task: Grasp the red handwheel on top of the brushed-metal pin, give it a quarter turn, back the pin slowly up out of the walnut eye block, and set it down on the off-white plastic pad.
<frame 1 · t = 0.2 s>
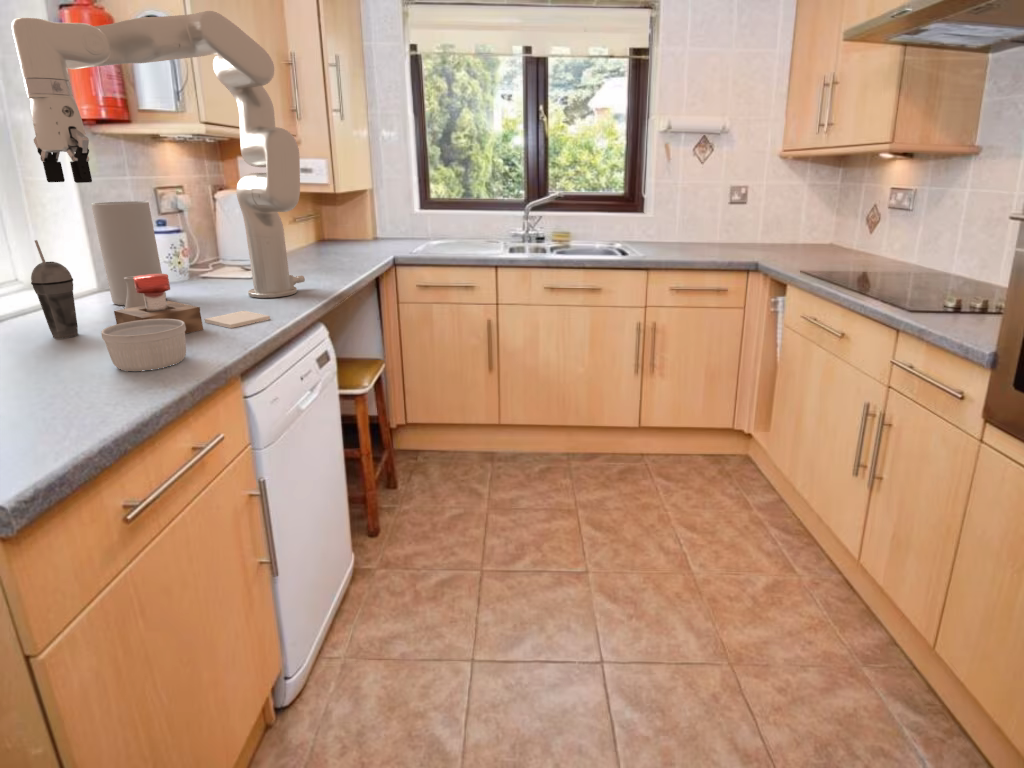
hand: (69, 182, 132), 31 cm above the countertop, tool pointing down, fingers open, 9 cm apart
flask: (140, 321, 149), on the countertop
pad: (237, 320, 148), on the countertop
cylinder vase: (140, 301, 170), on the countertop
beverage cup: (66, 336, 136), on the countertop
eye block: (161, 331, 139), on the countertop
ramekin: (151, 364, 117), on the countertop
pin: (156, 304, 137), in the eye block
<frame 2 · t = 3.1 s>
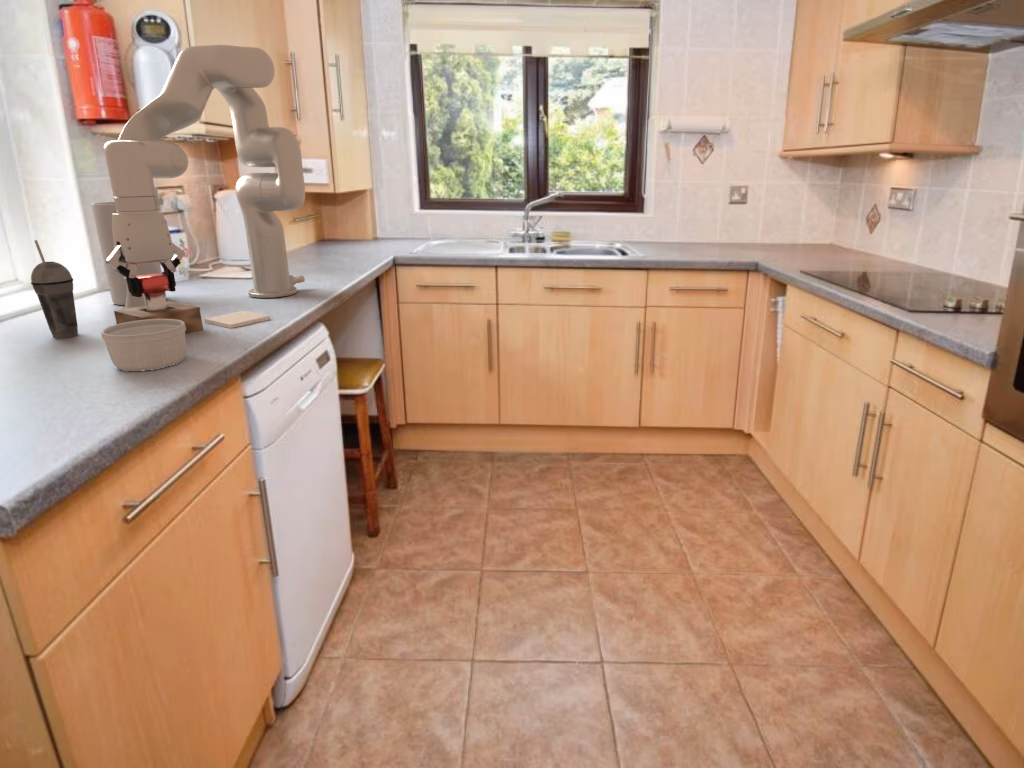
hand: (153, 292, 136), 8 cm above the countertop, tool pointing down, fingers closed on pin, 6 cm apart
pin: (156, 304, 137), in the eye block, touching gripper
everything else where it was.
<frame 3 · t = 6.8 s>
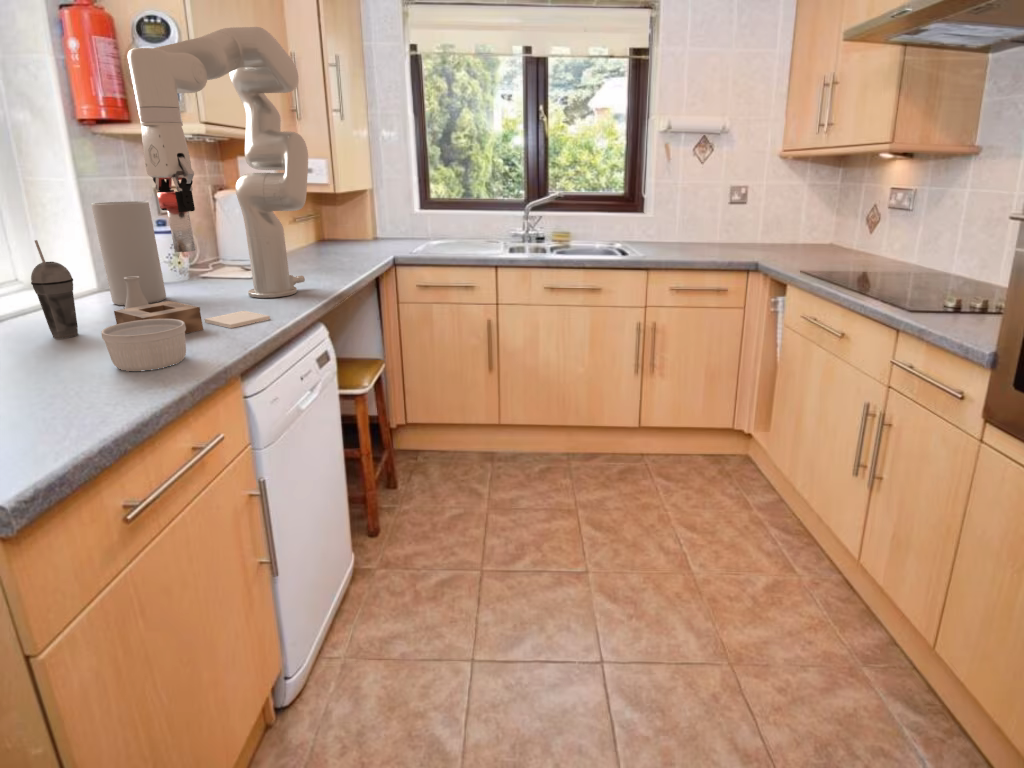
hand: (177, 209, 135), 25 cm above the countertop, tool pointing down, fingers closed on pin, 6 cm apart
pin: (179, 221, 136), point 23 cm above the countertop, touching gripper
everything else where it was.
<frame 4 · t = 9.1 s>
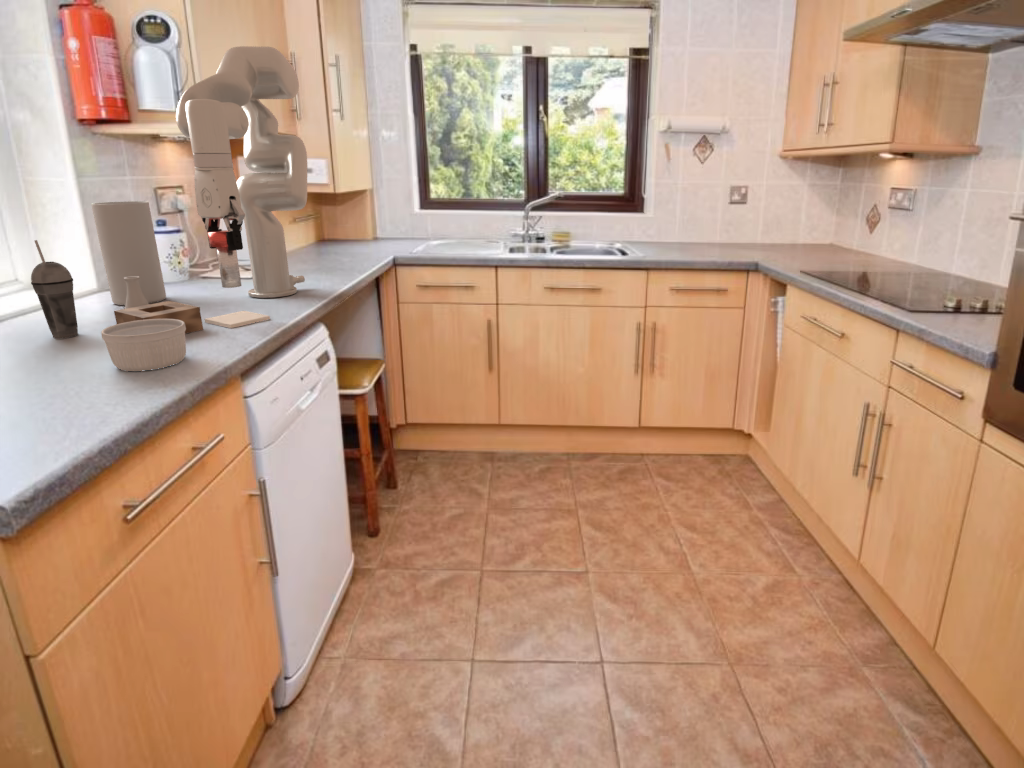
hand: (226, 248, 142), 16 cm above the countertop, tool pointing down, fingers closed on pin, 6 cm apart
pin: (227, 259, 143), point 14 cm above the countertop, touching gripper
everything else where it was.
when the fingers open (10 cm above the countertop, at t = 10.8 s): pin stays where it is, resting on pad.
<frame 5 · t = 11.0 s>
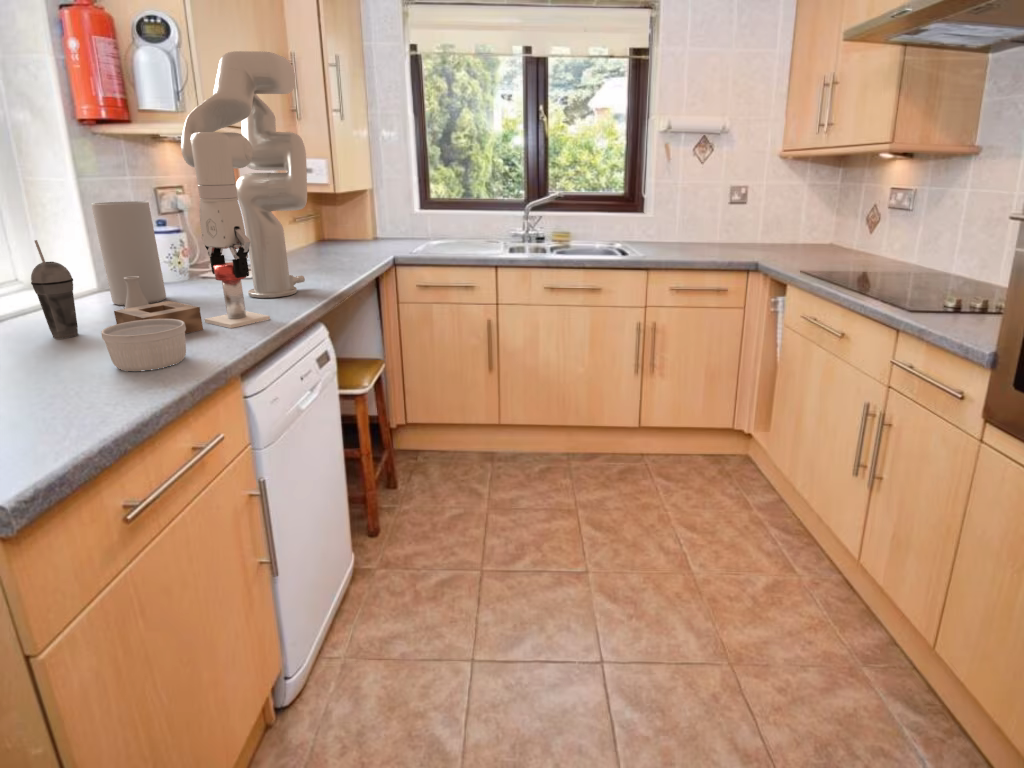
hand: (230, 274, 144), 11 cm above the countertop, tool pointing down, fingers open, 8 cm apart
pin: (233, 291, 145), on the pad, point 7 cm above the countertop
everything else where it was.
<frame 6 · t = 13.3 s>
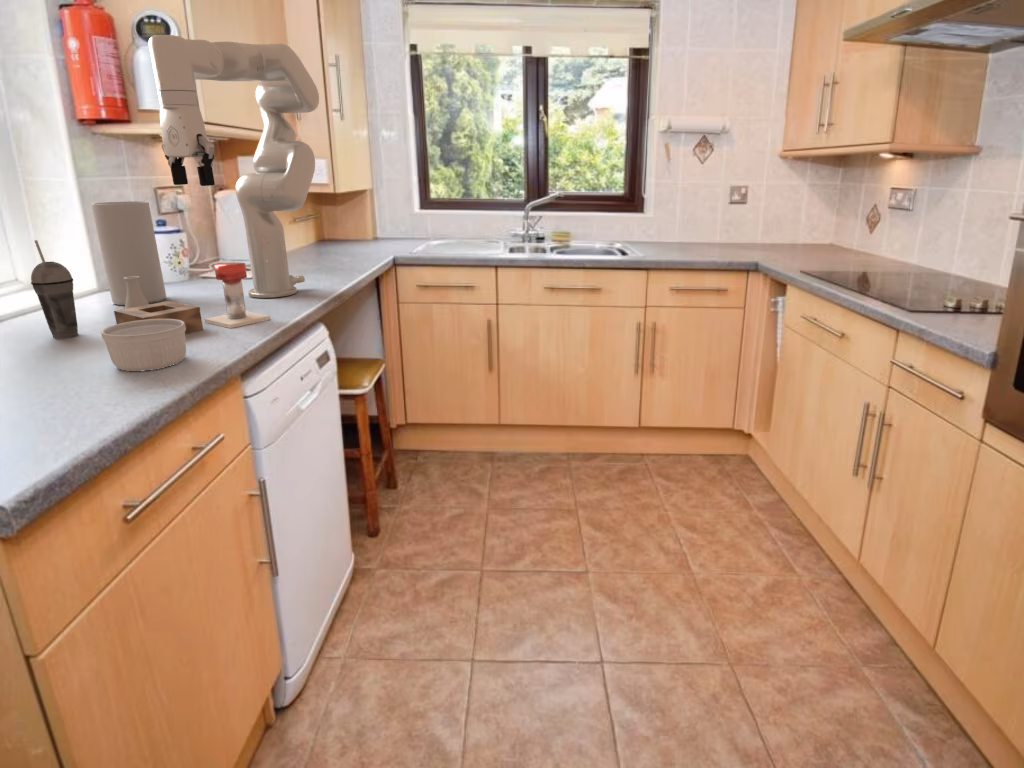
hand: (194, 185, 143), 30 cm above the countertop, tool pointing down, fingers open, 9 cm apart
nothing on the countertop moved.
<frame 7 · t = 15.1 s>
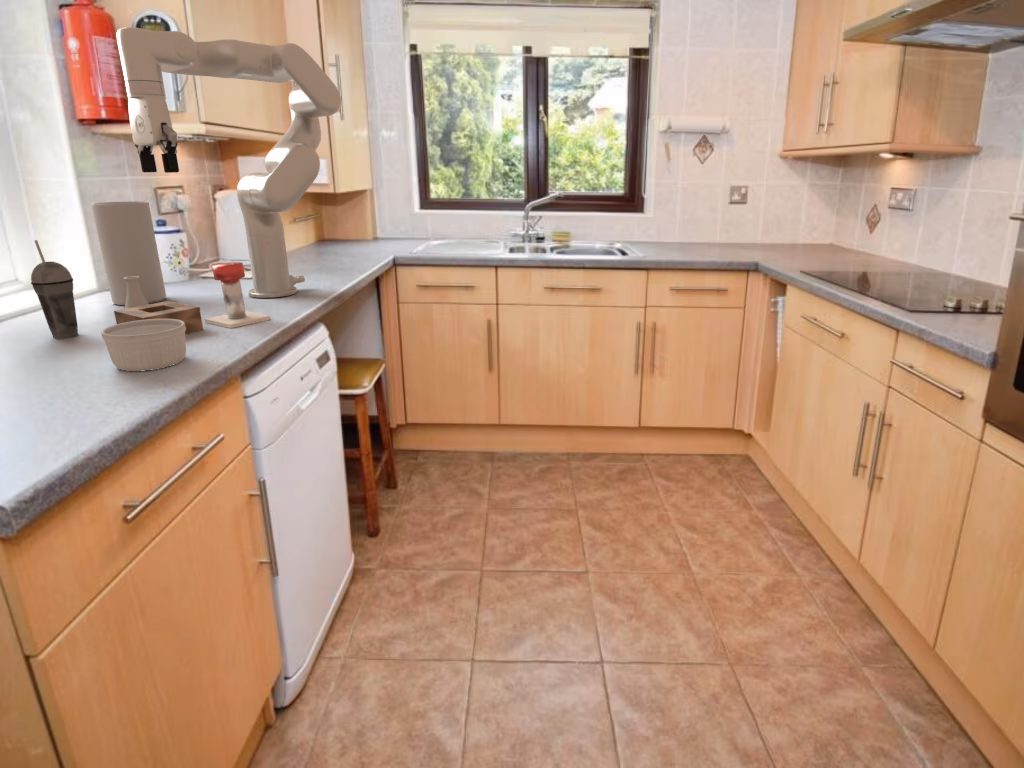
hand: (160, 172, 149), 32 cm above the countertop, tool pointing down, fingers open, 9 cm apart
nothing on the countertop moved.
at the end: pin inside the target area on the pad (0.2 cm from its centre), point 6.8 cm above the pad's base; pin moved 15.8 cm from its start; the gripper is holding nothing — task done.
